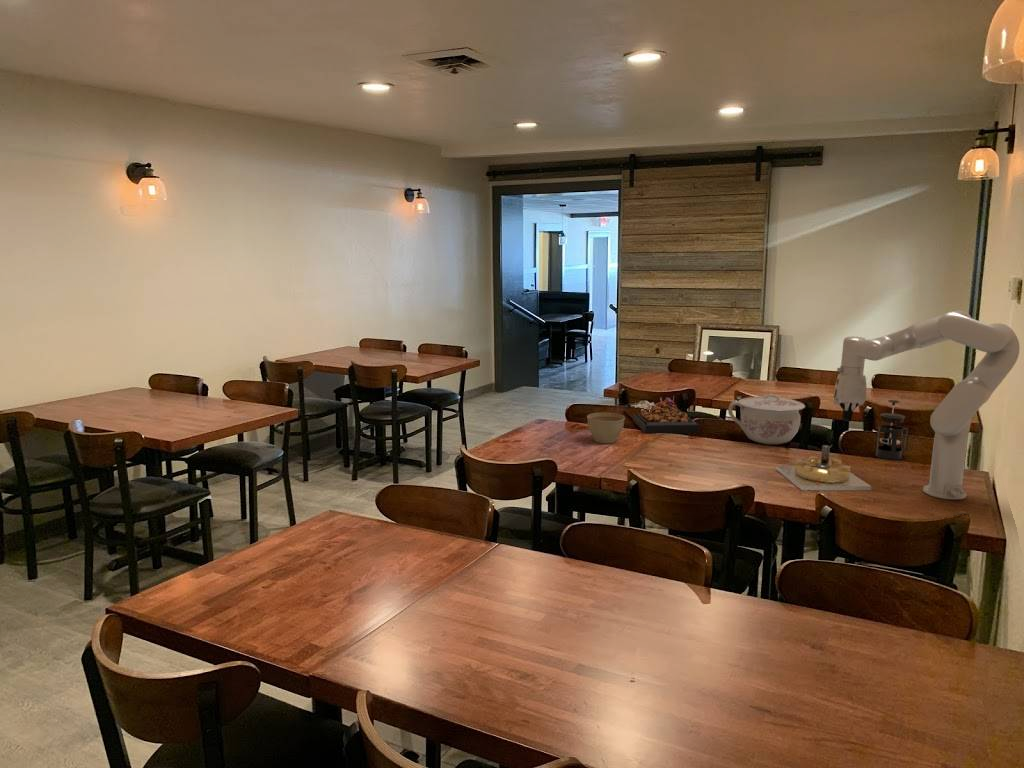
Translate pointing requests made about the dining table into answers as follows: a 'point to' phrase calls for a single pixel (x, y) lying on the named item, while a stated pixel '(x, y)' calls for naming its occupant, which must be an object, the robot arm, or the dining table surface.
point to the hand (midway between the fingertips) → (846, 420)
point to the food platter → (663, 418)
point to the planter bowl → (605, 426)
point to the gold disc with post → (822, 468)
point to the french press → (892, 451)
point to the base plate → (806, 484)
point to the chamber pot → (768, 418)
